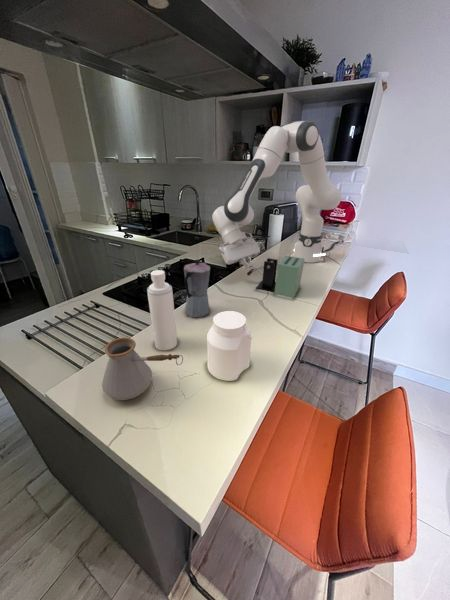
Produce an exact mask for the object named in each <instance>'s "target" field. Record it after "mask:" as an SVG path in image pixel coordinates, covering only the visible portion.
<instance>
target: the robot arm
mask: <svg viewBox="0 0 450 600" xmlns="http://www.w3.org/2000/svg"><path fill="white" fill-rule="evenodd" d="M324 151H325V150H324V145H323V141H322V138H321V136H320V133H319V128H318V126H317V124H316V123H315V122H314V121H311V120H305V121H294V122H291V123H287V124H282V125H280V126H278V125H273V126H272V127H270V128H268V130H267V131H266V133H265V135H264V136H263V138H262V139H261V141H260V142H259V145H258V147H257V148H256V152H255V153H254V156H253V158H252V160H251V162H250V163H249V165H248V166H247V169H246V170H245V172H244V174H243V176H242V178H241V180H240V181H239V183H238V185H237V187H236V189H235V190H234V192H232V194H231V195H230V196H229V197H228V198H227V199H226V201H225V203H224V205H220V206H218V207H217V208H215V210H214V211H213V213H212V216H211V220H212V222H213V225H214V227H215V229H216V230H217V232H218V234H219V235H220V236H221V240H222V241H223V243H221V244H220V245H219V248H218V249H219V252H220V254H221V256H222V259H223V261H224V263H225V264H226V265H232V264H236V263H238V262H240V264H241V265H243V266H244V267H245V269H250V268H252V267H253V266H254V264H253V263H252V258H253V257H256V256H258V255H259V254H260V252H261V248H260V247H259V245H258V242H257V241H256V240H255V239H254V238H253V235H252V233H250V232H244V231H242V230H241V229H243V228H245V227H247V226H248V225H250V224H251V223H252V222H253V221H254V218H255V212H254V208H252V206H251V204H250V200H251V196H252V195H253V193H254V191H255V189H256V187H257V185H258V183H259V181H260V180H262V179H268V178H271V177H272V176H273V175H274V174H275V173H276V172H277V169H278V168H279V166H280V164H281V162H282V159H283V157H284V155H285V153H287V154H288V153H289V154H293V153H298V161H299V166H300V173H301V178H302V180H303V181H304V182H305V183H306V184H304V185H301V186H299V187H298V189H297V190H296V193H295V200H296V201H295V202H296V203H297V204H298V206H299V209H300V212H301V227H300V233H299V236H298V240H297V242H295V244H294V248H293V252H292V253H290V255H289V256H292V257H298V258H304V263H309V264H311V263H312V264H313V263H321V262H324V261H325V260H324V256H326V252H328V251H330V250H331V249H332V248H334V246H335V244H337V243H340V242H341V243H344V240H342V241H340V240H337V241H335V242H333V243H332V245H331V246H330V248H327V249H325V247H324V246H323V245H322V243H321V242H322V238H323V235H322V232H323V229H324V228H323V227H324V218H323V217H322V216H321V214H320V211H319V210H321V211H330V210H335V209H336V208H337V207H338V206H339V205H340V203H341V201H342V193H341V191H340V189H338V188H337V187H336V186H335V185H334V183H333V182H332V180H331V178H330V176H329V174H328V171H327V166H326V160H325V152H324ZM324 249H325V250H324ZM324 252H325V253H324Z"/></svg>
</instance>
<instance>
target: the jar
mask: <svg viewBox="0 0 450 600" xmlns="http://www.w3.org/2000/svg"><path fill="white" fill-rule="evenodd" d="M252 339H253V336H252V333H251V331H250V329H249V328H248V327H247V318H246V316H245V315H243V314H242V313H241V312H238V311H234V310H225V311H220V312H218V313H216V314H215V315H214V316H213V318H212V326H211V327H210V328H209V329H208V332H207V333H206V347H207V348H206V349H207V351H206V352H207V364H206V365H207V370H208V372H209V373H210V374H211V376H213V377H214V378H216V379H218V380H221V381H226V382H233V381H236V380H238V379H239V377H240V375H241V374H242V373H243V372H244V371H245V370H247V369H248V368H249V367H250V364H251V362H250V361H251V350H252V349H251V348H252V347H251V346H252Z"/></svg>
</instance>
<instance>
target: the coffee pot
mask: <svg viewBox="0 0 450 600" xmlns="http://www.w3.org/2000/svg"><path fill="white" fill-rule="evenodd" d="M136 346H137V345H136V341H135V340H134V338H131V337H119V338H114V339H112V340H111V341H110V342H108V343H107V344H106V345H105V346H104V347H105V348H104V353H105V354H106V356H107V357H108V360H107V364H106V368H105V371H104V374H103V379H102V382H101V388H102V391H103V392H104V394H105V395H106V396H108V397H109V398H111V399H112V400H115V401H116V400H117V401H128V400H132V399H134V398H137V397H138V396H140V395H141V394H143V393H145V391H146V390H147V389H148V388H149V386H150V384H151V383H152V379H153V371H152V369H151V367H150V366H149V365H148V364H147V362H146V361H148V362H162V361H167V360H169V361H172V360H175V364H176V365H177V366H181V365H182V364H183V363H184V356H183V355H182V354H172V353H169V354H156V355H151V356H140V354H138V352H136V350H135V348H136ZM180 357H181V363H178V359H180Z"/></svg>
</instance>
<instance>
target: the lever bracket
mask: <svg viewBox="0 0 450 600" xmlns="http://www.w3.org/2000/svg"><path fill="white" fill-rule="evenodd" d="M270 261H274V262H270ZM278 261H279V260H278V259H275V258H269V257H268V258H266V260H264V261H263V266H264V269H262V270H263V271H262V280H261V282H259V284H258V285H257V286H256V287H255V289H256V290H260V291H264V292H269V293H273V294H275V285H276V277H277V269H278V263H279V262H278Z"/></svg>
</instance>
